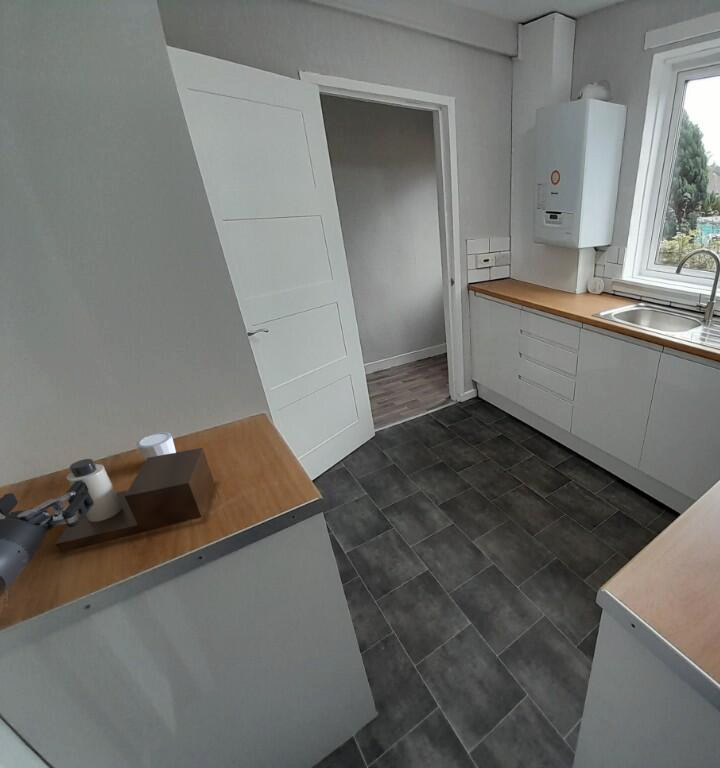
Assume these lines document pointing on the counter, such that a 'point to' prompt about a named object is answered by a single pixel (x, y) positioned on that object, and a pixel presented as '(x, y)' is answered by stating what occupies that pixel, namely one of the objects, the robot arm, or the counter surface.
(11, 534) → the robot arm
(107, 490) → the white bottle
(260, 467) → the counter surface
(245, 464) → the counter surface
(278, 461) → the counter surface
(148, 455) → the white short tapered cylinder
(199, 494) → the stepped wooden block
